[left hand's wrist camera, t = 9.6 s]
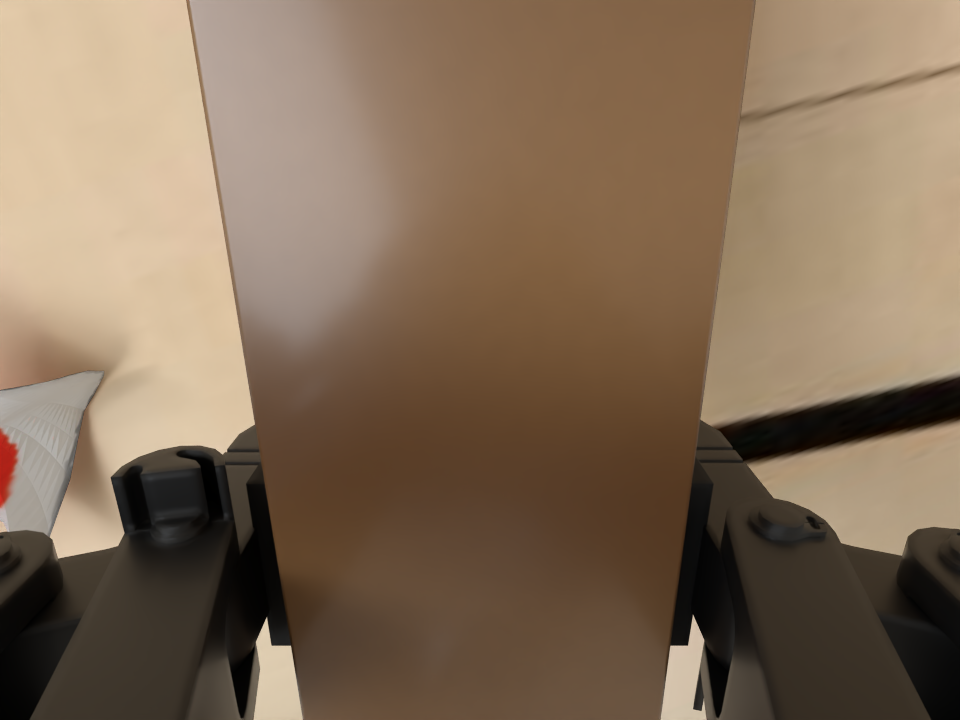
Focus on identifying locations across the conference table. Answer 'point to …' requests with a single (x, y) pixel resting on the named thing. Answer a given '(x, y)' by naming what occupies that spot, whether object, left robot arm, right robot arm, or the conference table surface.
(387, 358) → the bar
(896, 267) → the conference table surface
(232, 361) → the conference table surface
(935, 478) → the conference table surface
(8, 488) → the fish
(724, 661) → the left robot arm
